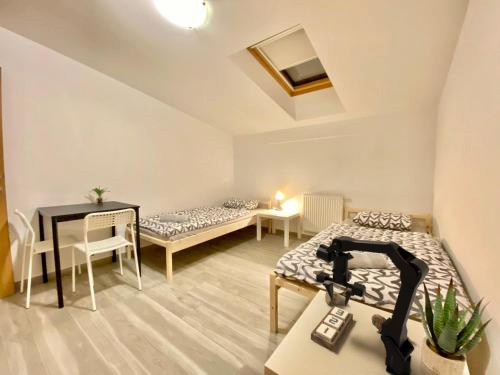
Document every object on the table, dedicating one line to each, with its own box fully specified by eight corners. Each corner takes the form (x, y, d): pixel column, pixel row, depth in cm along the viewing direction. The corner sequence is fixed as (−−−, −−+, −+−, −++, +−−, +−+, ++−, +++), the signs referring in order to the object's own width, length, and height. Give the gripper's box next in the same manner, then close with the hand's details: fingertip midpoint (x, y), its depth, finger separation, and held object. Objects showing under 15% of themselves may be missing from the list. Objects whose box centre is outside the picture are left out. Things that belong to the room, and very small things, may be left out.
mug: (350, 308, 108) (342, 293, 105) (331, 313, 110) (323, 299, 107) (345, 296, 115) (338, 282, 112) (327, 301, 117) (320, 288, 114)
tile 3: (348, 315, 99) (348, 311, 99) (344, 322, 94) (344, 318, 94) (335, 309, 103) (335, 306, 103) (330, 315, 98) (330, 312, 98)
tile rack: (352, 319, 99) (353, 314, 99) (333, 351, 81) (333, 345, 81) (333, 310, 105) (333, 306, 105) (310, 339, 87) (310, 333, 87)
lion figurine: (375, 340, 87) (376, 319, 86) (367, 331, 92) (368, 310, 91) (411, 340, 87) (412, 319, 86) (402, 331, 92) (403, 311, 91)
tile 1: (336, 333, 87) (336, 329, 87) (330, 342, 83) (330, 338, 83) (322, 326, 91) (322, 322, 91) (315, 334, 87) (316, 330, 87)
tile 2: (342, 323, 93) (343, 320, 93) (337, 331, 89) (338, 327, 88) (329, 317, 97) (329, 314, 97) (323, 324, 93) (323, 320, 92)
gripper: (370, 267, 90) (368, 303, 91) (325, 255, 102) (324, 287, 103) (363, 276, 81) (361, 316, 82) (315, 262, 93) (314, 297, 95)
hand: (338, 302), depth 91 cm, fingers open, 5 cm apart
